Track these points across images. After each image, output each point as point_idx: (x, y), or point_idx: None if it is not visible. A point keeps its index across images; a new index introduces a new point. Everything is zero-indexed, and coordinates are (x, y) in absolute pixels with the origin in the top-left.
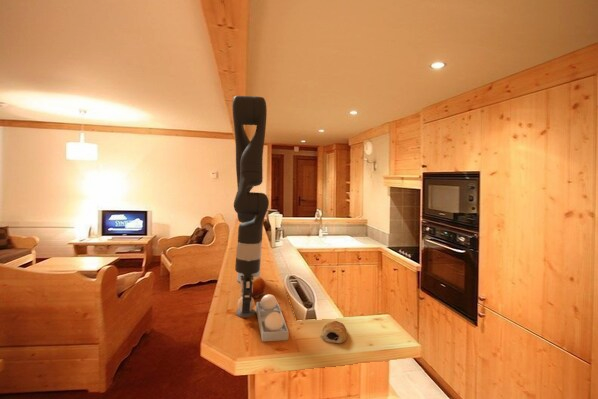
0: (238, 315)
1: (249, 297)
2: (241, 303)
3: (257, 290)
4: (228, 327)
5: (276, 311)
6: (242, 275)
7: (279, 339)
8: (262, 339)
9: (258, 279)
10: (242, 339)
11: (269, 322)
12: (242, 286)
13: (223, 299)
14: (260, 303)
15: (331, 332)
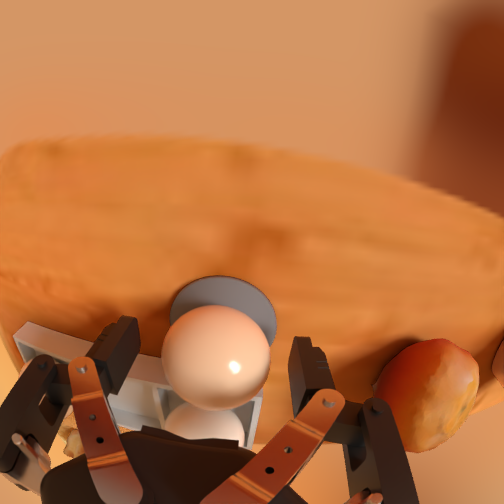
0: (187, 286)
1: (51, 402)
2: (169, 340)
3: None
4: (83, 223)
5: (162, 427)
6: (379, 483)
7: None
8: (24, 325)
9: (413, 450)
10: (24, 268)
11: (19, 374)
12: (82, 441)
13: (431, 223)
14: (199, 413)
15: (65, 447)
